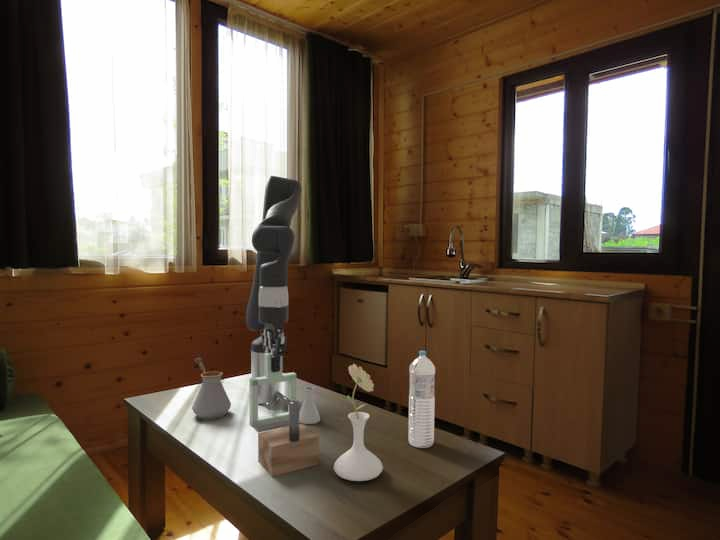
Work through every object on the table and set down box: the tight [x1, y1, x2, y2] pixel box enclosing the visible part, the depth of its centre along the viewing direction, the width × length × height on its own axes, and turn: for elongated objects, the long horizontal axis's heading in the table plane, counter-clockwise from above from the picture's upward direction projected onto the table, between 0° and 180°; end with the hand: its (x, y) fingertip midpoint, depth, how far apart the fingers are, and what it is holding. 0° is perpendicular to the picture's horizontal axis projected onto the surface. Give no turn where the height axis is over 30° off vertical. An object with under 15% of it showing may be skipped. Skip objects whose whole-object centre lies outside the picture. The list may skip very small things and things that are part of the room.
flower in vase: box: [333, 363, 384, 482], centre depth 108 cm, size 13×11×25 cm
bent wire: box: [263, 390, 300, 442], centre depth 118 cm, size 21×2×9 cm, turn 31°
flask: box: [299, 386, 321, 425], centre depth 141 cm, size 7×7×10 cm
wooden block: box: [257, 423, 320, 477], centre depth 113 cm, size 9×12×7 cm
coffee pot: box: [191, 357, 232, 421], centre depth 148 cm, size 21×12×15 cm, turn 34°
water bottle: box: [407, 350, 436, 449], centre depth 125 cm, size 7×7×25 cm
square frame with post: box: [249, 352, 297, 434], centre depth 121 cm, size 5×12×19 cm, turn 121°
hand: (273, 370), depth 121 cm, fingers closed on square frame with post, 2 cm apart
